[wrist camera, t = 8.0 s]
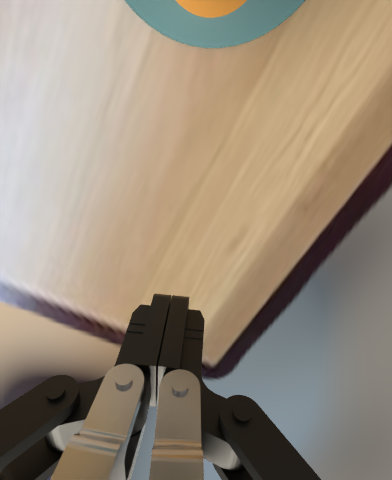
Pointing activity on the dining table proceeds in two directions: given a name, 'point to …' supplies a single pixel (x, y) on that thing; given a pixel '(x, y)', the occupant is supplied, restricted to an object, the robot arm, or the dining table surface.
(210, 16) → the ball
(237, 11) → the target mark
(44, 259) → the dining table surface
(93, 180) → the dining table surface
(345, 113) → the dining table surface
